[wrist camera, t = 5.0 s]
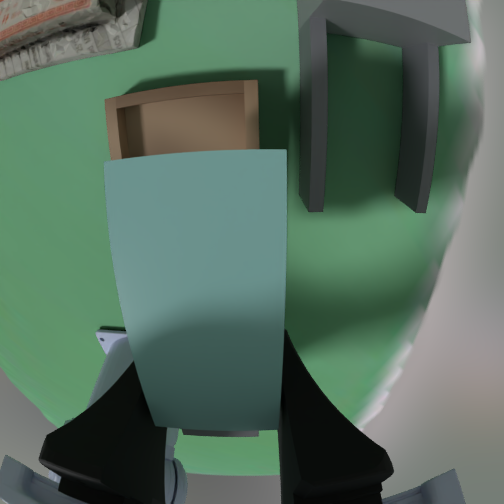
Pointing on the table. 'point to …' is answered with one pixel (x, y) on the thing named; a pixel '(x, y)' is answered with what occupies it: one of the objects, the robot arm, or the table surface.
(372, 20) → the bay
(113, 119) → the tray
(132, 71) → the table surface
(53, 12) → the packaged product
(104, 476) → the robot arm
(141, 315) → the tall teal block
